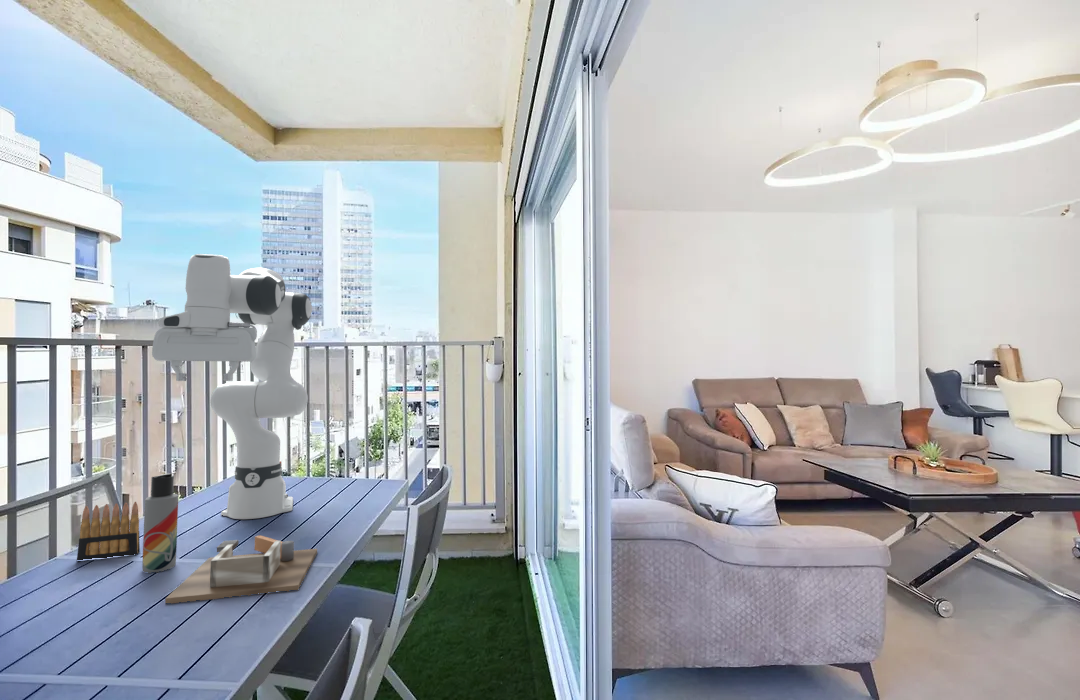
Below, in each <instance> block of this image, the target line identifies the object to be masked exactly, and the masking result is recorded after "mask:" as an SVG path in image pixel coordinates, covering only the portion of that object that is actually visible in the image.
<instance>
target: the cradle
mask: <svg viewBox="0 0 1080 700" xmlns="http://www.w3.org/2000/svg"><path fill="white" fill-rule="evenodd" d="M239 544H240V543H239V539H230V540H223V541H222V542H221V543H220V544H219V545H218V546H217V547H216V553H218V554H216V555H215V556H214V557H213V556H212V557H208V558H207V559H206V560H205V561H204V562H203V563H202V564H201V565H200V566H199V567H198V568H197V569H195V571H194V572H193V571H192V573H191V574H190V575H188V577H187V578H186V579H185V580H183V581H182V583H180V584H179V585H178V586H177V587H175V588H174V590H173V591H172V592H170V594H169V595H168V596H166V597H165V602H164V604H165V603H171V604H179V602H181V603H188V602H187V601H190V602H197V601H196V600H200V601H207V600H208V601H209V599H210V600H217V599H225V598H224V597H229V598H233V597H232V596H239V597H242V596H241V595H248V596H252V595H251V594H258V593H259V594H258V595H261V594H260V593H268V592H276V591H287V592H290V591H289V590H297V591H299V590H300V588H301V586H302V584H303V582H304V580H305V578H306V576H307V574H308V572H309V570H310V568H311V566H312V564H313V562H314V560H315V559H316V556H317V554H318V548H308V549H296V550H295V549H294V558H293V559H292V560H289V561H282V560H281V558H280V547H281V540H278V541H275V542H274V543H273V545H272V546H271V547H270V549H269V550H268V551H267V552H266V554H265V553H262V552H260V553H249V554H238V555H237V554H236V555H234V550H235V549H236V547H237V546H239ZM311 563H312V564H311ZM310 565H311V566H310ZM309 567H310V568H309ZM308 569H309V570H308ZM307 571H308V572H307ZM306 573H307V574H306ZM305 575H306V576H305ZM304 577H305V578H304ZM303 579H304V580H303ZM302 581H303V582H302ZM301 583H302V584H301ZM300 585H301V586H300ZM299 587H300V588H299ZM298 589H299V590H298ZM268 594H269V593H268Z"/></svg>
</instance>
